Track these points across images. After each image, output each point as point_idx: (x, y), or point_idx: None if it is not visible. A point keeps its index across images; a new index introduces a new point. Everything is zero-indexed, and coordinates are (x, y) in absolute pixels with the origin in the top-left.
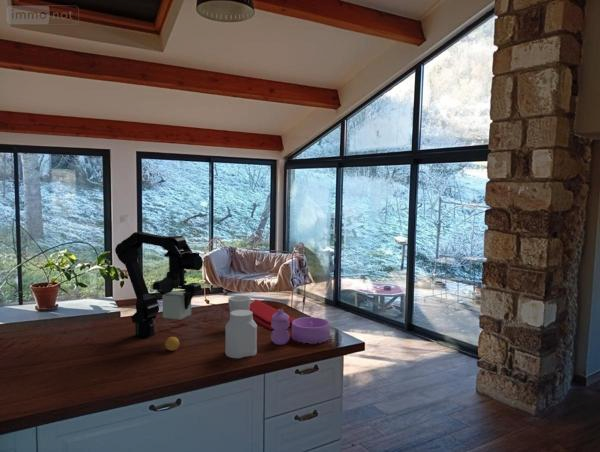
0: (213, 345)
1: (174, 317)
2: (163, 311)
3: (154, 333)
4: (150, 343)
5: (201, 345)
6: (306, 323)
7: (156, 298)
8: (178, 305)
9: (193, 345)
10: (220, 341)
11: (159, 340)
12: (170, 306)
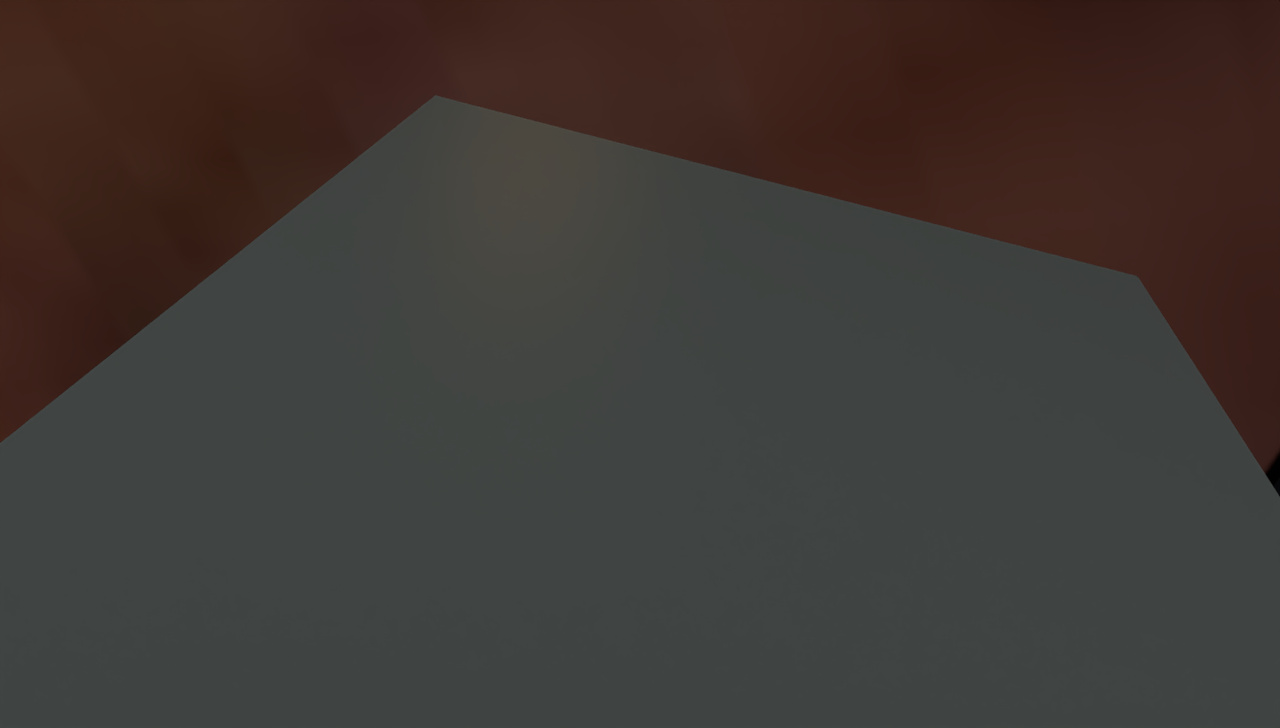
0: (106, 63)
1: (649, 172)
2: (1178, 389)
3: (1274, 479)
4: (1272, 11)
5: (278, 36)
6: None
7: None
8: (221, 369)
9: (402, 16)
10: (117, 249)
11: (1109, 201)
12: (803, 451)
